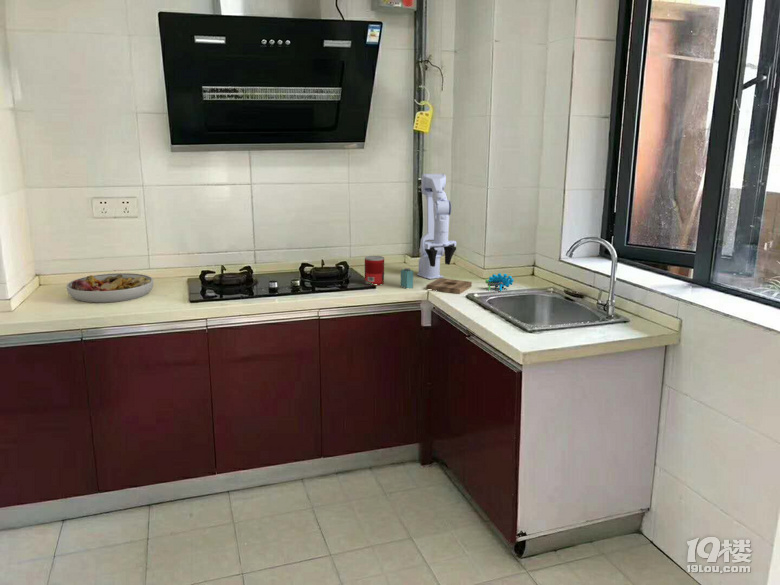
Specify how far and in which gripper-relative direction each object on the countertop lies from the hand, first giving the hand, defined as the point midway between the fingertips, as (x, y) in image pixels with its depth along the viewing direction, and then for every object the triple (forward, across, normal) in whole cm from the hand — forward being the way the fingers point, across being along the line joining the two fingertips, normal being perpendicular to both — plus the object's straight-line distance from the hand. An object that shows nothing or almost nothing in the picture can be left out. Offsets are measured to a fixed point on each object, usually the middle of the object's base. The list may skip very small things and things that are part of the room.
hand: (440, 265), depth 256 cm
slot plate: (+10, +4, -1) cm, 11 cm away
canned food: (+10, -18, +21) cm, 29 cm away
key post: (+10, -10, +9) cm, 16 cm away
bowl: (+10, -112, +58) cm, 126 cm away
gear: (+10, +20, -14) cm, 26 cm away
